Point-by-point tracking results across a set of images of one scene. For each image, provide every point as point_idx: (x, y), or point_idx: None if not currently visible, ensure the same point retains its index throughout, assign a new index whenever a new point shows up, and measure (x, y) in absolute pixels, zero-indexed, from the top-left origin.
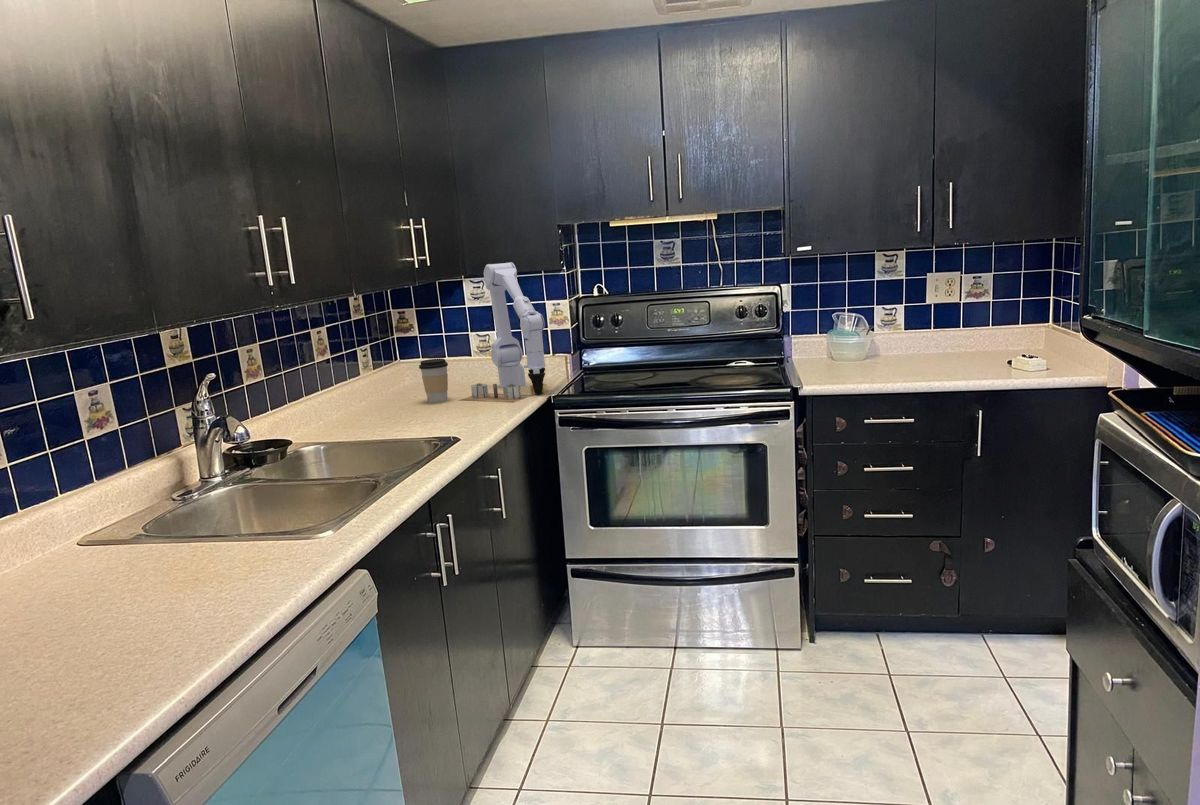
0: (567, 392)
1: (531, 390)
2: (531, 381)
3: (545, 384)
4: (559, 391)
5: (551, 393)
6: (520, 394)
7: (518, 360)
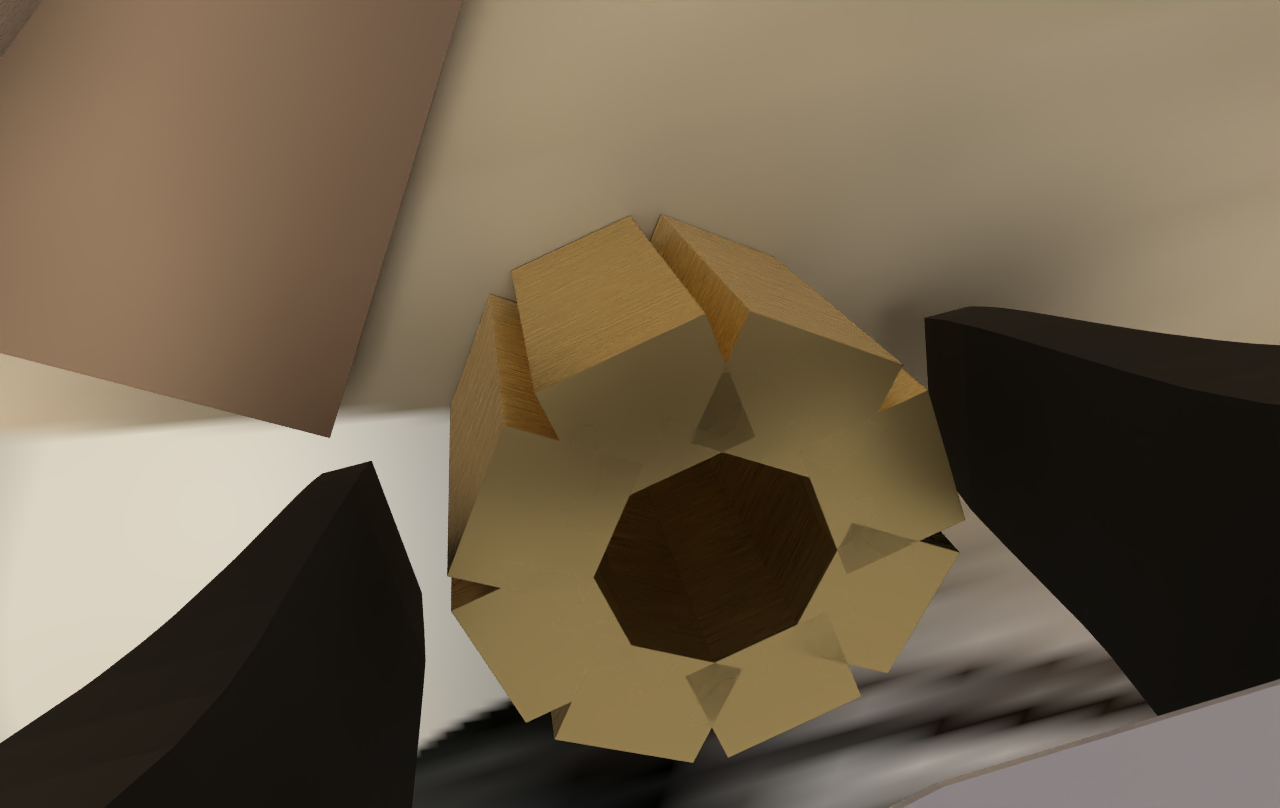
0: (908, 792)
1: (528, 347)
2: (32, 723)
3: (724, 741)
4: (1063, 645)
5: None
6: None
7: None
